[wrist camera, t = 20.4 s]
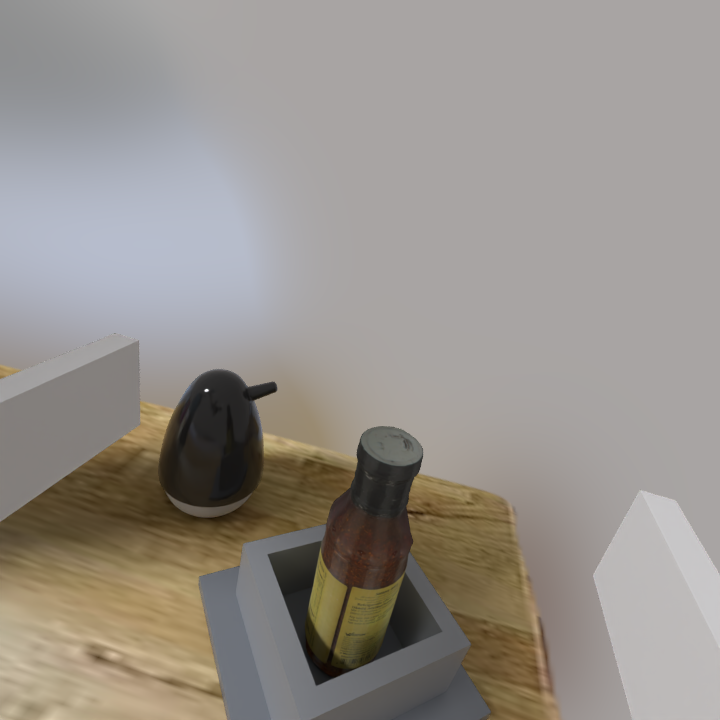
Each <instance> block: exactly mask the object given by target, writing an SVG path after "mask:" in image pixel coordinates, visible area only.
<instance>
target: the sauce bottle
mask: <svg viewBox="0 0 720 720" xmlns="http://www.w3.org/2000/svg"><path fill="white" fill-rule="evenodd" d="M422 458H423V448H422V446H421V445H420V443H419V442H418V441H417V440H416V439H415V438H414V437H412V436H411V435H410V434H409V433H407V432H405V431H404V430H401V429H399V428H395V427H385V426H380V427H374V428H371V429H368V430H367V431H365V432H364V433H363V434H362V436H361V439H360V443H359V445H358V449H357V459H358V463H357V468H356V472H355V477H354V480H353V481H352V484H351V488H349V489H348V490H347V491H346V492H345V493H344V494H342V495H341V496H340V497H339V498H337V499H336V500H335V501H334V503H333V504H332V506H331V509H330V513H329V517H328V520H327V524H326V531H325V535H324V537H323V540H322V543H321V548H320V553H319V558H318V563H317V568H316V573H315V578H314V583H313V588H312V593H311V597H310V602H309V607H308V611H307V616H306V621H305V633H306V636H305V638H306V650H307V653H308V655H309V656H310V658H311V659H312V661H313V662H314V663H315V664H316V665H317V666H318V668H319V669H321V670H322V671H324V673H325V674H327V675H328V676H331V677H334V678H336V677H338V676H341V675H343V674H345V673H348V672H350V671H352V670H355V669H357V668H359V667H362V666H364V665H366V664H369V663H371V662H373V661H374V659H375V657H376V655H377V653H378V651H379V649H380V647H381V645H382V643H383V639H384V636H385V633H386V630H387V626H388V623H389V620H390V617H391V614H392V611H393V608H394V604H395V601H396V598H397V595H398V592H399V589H400V586H401V583H402V580H403V577H404V574H405V570H406V567H407V562H408V554H409V552H410V548H411V546H412V544H413V539H412V535H411V532H410V526H409V520H408V514H407V509H406V505H407V504H408V500H409V492H410V488H411V485H412V482H413V480H414V477H415V476H416V475H417V474H418V472H419V470H420V467H421V462H422Z"/></svg>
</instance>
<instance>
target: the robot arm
mask: <svg viewBox="0 0 720 720" xmlns="http://www.w3.org/2000/svg"><path fill="white" fill-rule="evenodd" d="M139 378H140V377H139V340H136V339H133V338H130V337H126V336H123V335H119V334H116V333H114V334H112V335H109V336H107V337H104V338H102V339H99V340H97V341H94V342H92V343H89V344H87V345H85V346H82V347H79V348H77V349H74V350H72V351H69V352H67V353H65V354H62V355H59V356H57V357H54V358H52V359H50V360H47V361H45V362H42V363H40V364H37V365H35V366H32V367H30V368H27V369H25V370H22V371H20V372H17V373H15V374H12V375H10V376H7V377H5V378H2V379H0V522H1V521H2V520H4V519H5V518H6V517H8V516H9V515H11V514H12V513H14V512H15V511H16V510H18V509H19V508H21V507H22V506H24V505H25V504H27V503H28V502H29V501H31V500H32V499H34V498H35V497H37V496H38V495H39V494H41V493H42V492H44V491H45V490H47V489H48V488H50V487H51V486H52V485H54V484H55V483H57V482H58V481H60V480H61V479H62V478H64V477H65V476H67V475H68V474H70V473H71V472H73V471H74V470H75V469H77V468H78V467H80V466H81V465H83V464H84V463H85V462H87V461H88V460H90V459H91V458H93V457H94V456H96V455H97V454H98V453H100V452H101V451H103V450H104V449H106V448H107V447H108V446H110V445H111V444H113V443H114V442H116V441H117V440H119V439H120V438H121V437H123V436H124V435H126V434H127V433H129V432H130V431H131V430H133V429H134V428H136V427H137V426H139V425H140V379H139ZM593 578H594V581H595V585H596V589H597V592H598V596H599V600H600V603H601V607H602V611H603V614H604V618H605V622H606V625H607V629H608V633H609V637H610V640H611V644H612V648H613V651H614V655H615V659H616V662H617V666H618V670H619V674H620V677H621V680H622V684H623V688H624V692H625V696H626V699H627V703H628V707H629V710H630V714H631V718H632V720H720V574H719V572H718V571H717V569H716V567H715V566H714V564H713V562H712V561H711V559H710V557H709V555H708V554H707V552H706V550H705V549H704V547H703V546H702V544H701V542H700V540H699V539H698V537H697V536H696V534H695V532H694V530H693V529H692V527H691V525H690V524H689V522H688V520H687V519H686V517H685V515H684V514H683V512H682V510H681V509H680V507H679V505H678V504H677V502H676V501H675V500H672V499H669V498H666V497H662V496H659V495H656V494H652V493H649V492H645V491H642V490H640V491H639V493H638V494H637V496H636V498H635V500H634V502H633V503H632V505H631V507H630V509H629V511H628V512H627V514H626V516H625V518H624V520H623V521H622V523H621V525H620V527H619V529H618V530H617V532H616V534H615V536H614V538H613V539H612V541H611V543H610V545H609V547H608V549H607V550H606V552H605V554H604V556H603V558H602V559H601V561H600V563H599V565H598V567H597V568H596V570H595V572H594V574H593Z"/></svg>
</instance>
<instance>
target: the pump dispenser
mask: <svg viewBox="0 0 720 720" xmlns="http://www.w3.org/2000/svg"><path fill="white" fill-rule="evenodd" d="M276 391H277V385H276V383H275V382H269V383H264V384H260V385H256V386H251V387H247V385H246V384H245V382H244V381H243V380H242V379H241V377H239V376H238V375H237V374H235V373H234V372H231V371H228V370H223V369H215V370H210V371H207V372H205V373H203V374H201V375H200V376H198V377H197V378H196V379H195V380H194V381H193V382H192V383H191V385H190V386H189V387H188V388H187V390H186V391H185V393H184V394H183V396H182V398H181V399H180V401H179V403H178V405H177V406H176V408H175V410H174V412H173V414H172V417H171V419H170V421H169V424H168V426H167V429H166V432H165V436H164V439H163V443H162V448H161V452H160V458H159V465H158V477H159V481H160V484H161V486H162V487H163V489H164V490H165V492H166V494H167V496H168V498H169V499H170V500H171V502H172V503H173V504H174V505H175V506H176V507H177V508H179V509H180V510H182V511H183V512H185V513H187V514H190V515H193V516H197V517H205V518H210V517H218V516H222V515H225V514H228V513H230V512H232V511H234V510H236V509H237V508H239V507H240V506H241V505H242V504H243V503H244V502H246V500H247V499H248V498H249V497H250V495H251V494H252V492H253V491H254V490H255V489H256V488H257V486H258V485H259V483H260V481H261V478H262V473H263V466H264V444H263V433H262V427H261V421H260V417H259V413H258V410H257V407H256V404H255V402H254V400H257V399H259V398H262V397H264V396H267V395H269V394H272V393H275V392H276Z"/></svg>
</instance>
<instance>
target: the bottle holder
mask: <svg viewBox="0 0 720 720" xmlns="http://www.w3.org/2000/svg"><path fill="white" fill-rule="evenodd" d="M325 531H326V524H324V525H320V526H316V527H311V528H307V529H303V530H299V531H294V532H290V533H286V534H282V535H278V536H273V537H269V538H265V539H261V540H256V541H252V542H248V543H244V544H243V548H242V555H241V562H240V566H238V567H234V568H230V569H226V570H222V571H218V572H215V573H211V574H207V575H203V576H199V589H200V593H201V598H202V603H203V607H204V612H205V617H206V621H207V626H208V631H209V635H210V640H211V645H212V649H213V654H214V659H215V663H216V668H217V673H218V677H219V682H220V687H221V691H222V696H223V701H224V705H225V710H226V715H227V719H228V720H486V719H487V718H488V717H489V715H490V714H491V711H490V709H489V708H488V706H487V705H486V703H485V701H484V700H483V698H482V697H481V695H480V693H479V692H478V690H477V689H476V687H475V685H474V684H473V682H472V681H471V679H470V677H469V676H468V674H467V673H466V671H465V669H464V668H463V666H462V665H461V663H462V661H463V659H464V657H465V655H466V653H467V652H468V650H469V648H470V646H471V643H470V641H469V640H468V638H467V637H466V635H465V634H464V632H463V631H462V629H461V628H460V626H459V625H458V623H457V622H456V620H455V619H454V617H453V616H452V614H451V613H450V611H449V610H448V608H447V607H446V605H445V604H444V602H443V601H442V599H441V598H440V596H439V595H438V593H437V592H436V590H435V589H434V587H433V586H432V584H431V583H430V581H429V580H428V578H427V577H426V575H425V574H424V572H423V571H422V569H421V568H420V566H419V565H418V563H417V562H416V560H415V559H414V557H413V556H412V554H411V553H410V552H409V554H408V562H407V567H406V570H405V574H404V577H403V580H402V583H401V586H400V589H399V592H398V595H397V598H396V601H395V604H394V608H393V611H392V614H391V617H390V620H389V623H388V626H387V630H386V633H385V636H384V639H383V643H382V645H381V647H380V649H379V651H378V653H377V655H376V657H375V659H374V661H373V662H371V663H369V664H366V665H364V666H362V667H359V668H357V669H355V670H352V671H350V672H348V673H345V674H343V675H341V676H338V677H336V678H334V677H331V676H328V675H327V674H325V673H324V671H322V670H321V669H319V668H318V666H317V665H316V664H315V663H314V662H313V661H312V659H311V658H310V656H309V655H308V653H307V650H306V638H305V636H306V633H305V621H306V616H307V611H308V607H309V602H310V597H311V593H312V588H313V583H314V578H315V573H316V568H317V563H318V558H319V553H320V548H321V543H322V540H323V537H324V535H325Z"/></svg>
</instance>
